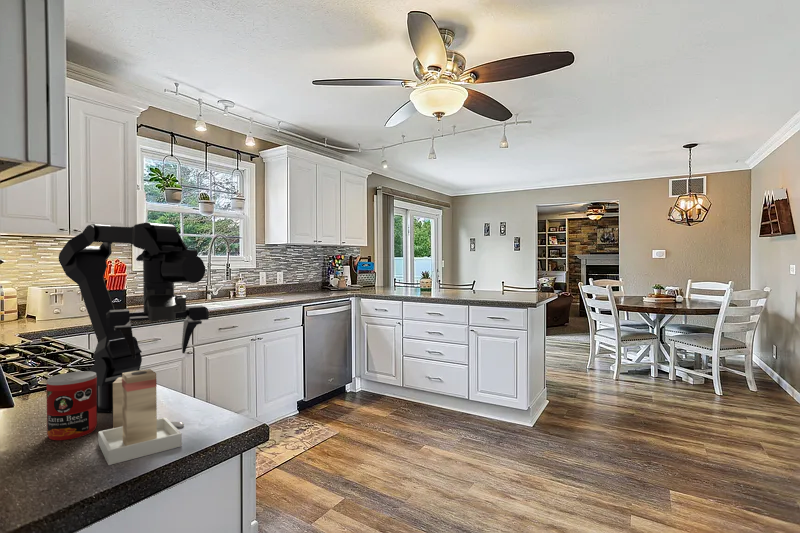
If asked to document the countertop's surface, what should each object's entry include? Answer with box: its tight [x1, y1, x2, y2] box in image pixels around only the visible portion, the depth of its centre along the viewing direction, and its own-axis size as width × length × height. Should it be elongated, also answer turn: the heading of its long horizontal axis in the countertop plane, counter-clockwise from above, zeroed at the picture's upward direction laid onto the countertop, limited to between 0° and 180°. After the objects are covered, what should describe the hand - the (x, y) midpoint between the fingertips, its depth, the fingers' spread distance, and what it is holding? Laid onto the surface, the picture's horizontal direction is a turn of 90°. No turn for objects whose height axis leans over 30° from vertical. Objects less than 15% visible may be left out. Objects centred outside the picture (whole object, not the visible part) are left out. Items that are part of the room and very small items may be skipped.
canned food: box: [46, 370, 98, 441], centre depth 85 cm, size 8×8×11 cm
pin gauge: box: [170, 421, 185, 429], centre depth 88 cm, size 9×1×1 cm, turn 84°
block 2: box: [122, 368, 158, 446], centre depth 79 cm, size 4×4×13 cm
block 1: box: [112, 377, 123, 429], centre depth 90 cm, size 4×4×9 cm
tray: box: [97, 417, 183, 466], centre depth 79 cm, size 11×11×2 cm
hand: (159, 355), depth 93 cm, fingers open, 9 cm apart
